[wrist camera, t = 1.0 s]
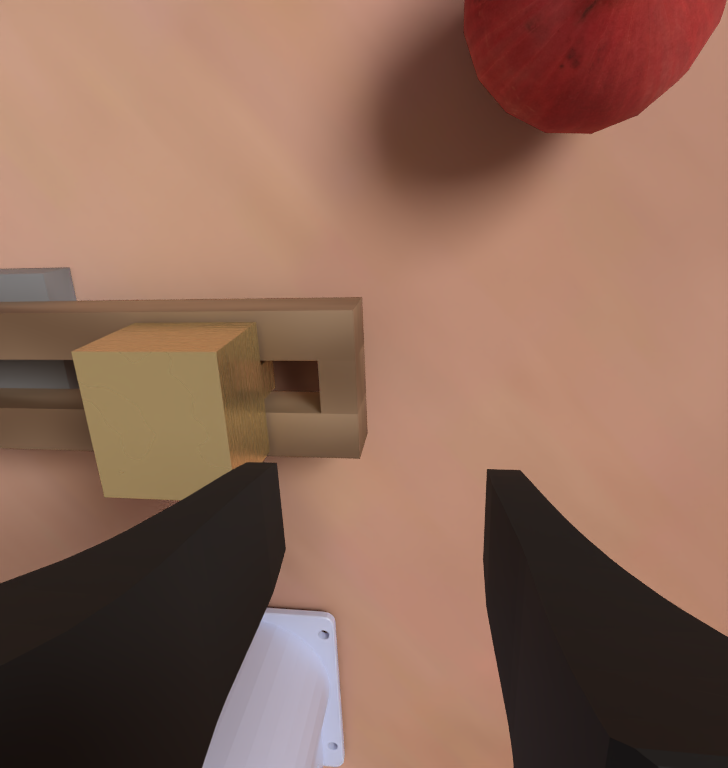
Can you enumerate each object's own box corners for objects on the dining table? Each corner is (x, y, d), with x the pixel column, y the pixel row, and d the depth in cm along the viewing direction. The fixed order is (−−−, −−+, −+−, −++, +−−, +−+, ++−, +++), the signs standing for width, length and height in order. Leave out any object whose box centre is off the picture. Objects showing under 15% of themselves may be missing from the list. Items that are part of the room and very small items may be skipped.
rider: (284, 428, 20) (236, 502, 15) (181, 425, 21) (104, 497, 16) (273, 309, 19) (216, 352, 14) (162, 310, 19) (71, 351, 14)
